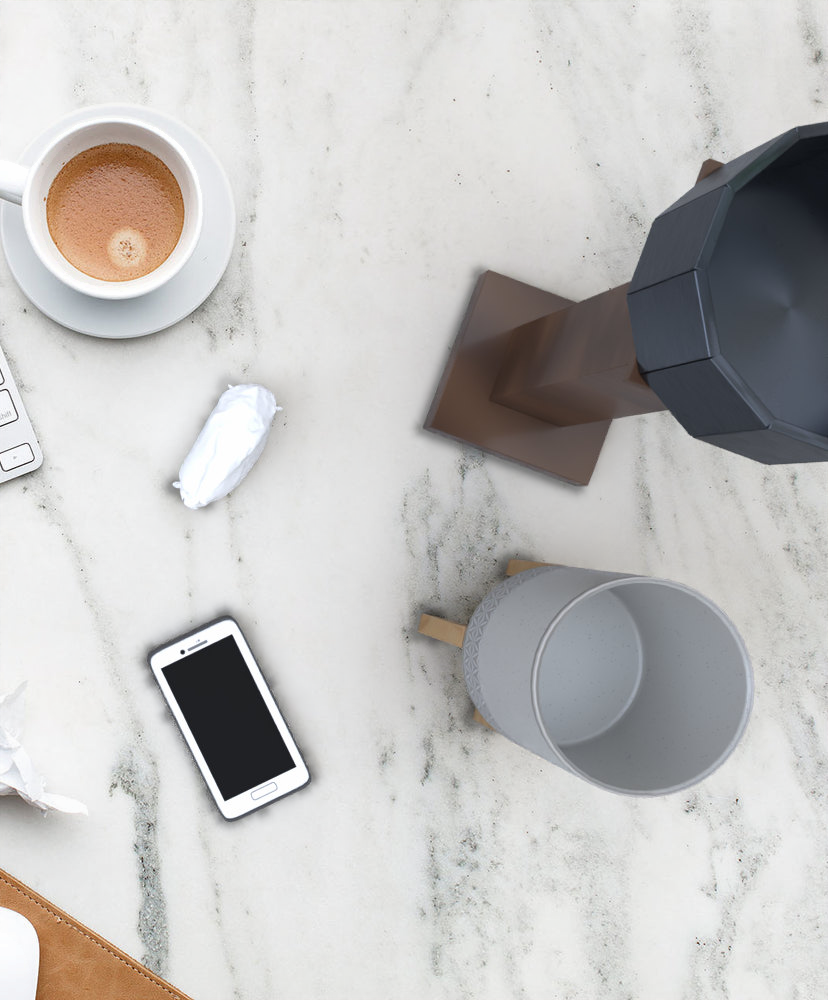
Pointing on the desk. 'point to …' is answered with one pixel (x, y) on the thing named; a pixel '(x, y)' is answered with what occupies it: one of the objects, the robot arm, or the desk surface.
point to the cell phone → (229, 718)
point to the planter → (607, 675)
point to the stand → (542, 375)
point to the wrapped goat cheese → (227, 444)
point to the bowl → (743, 303)
